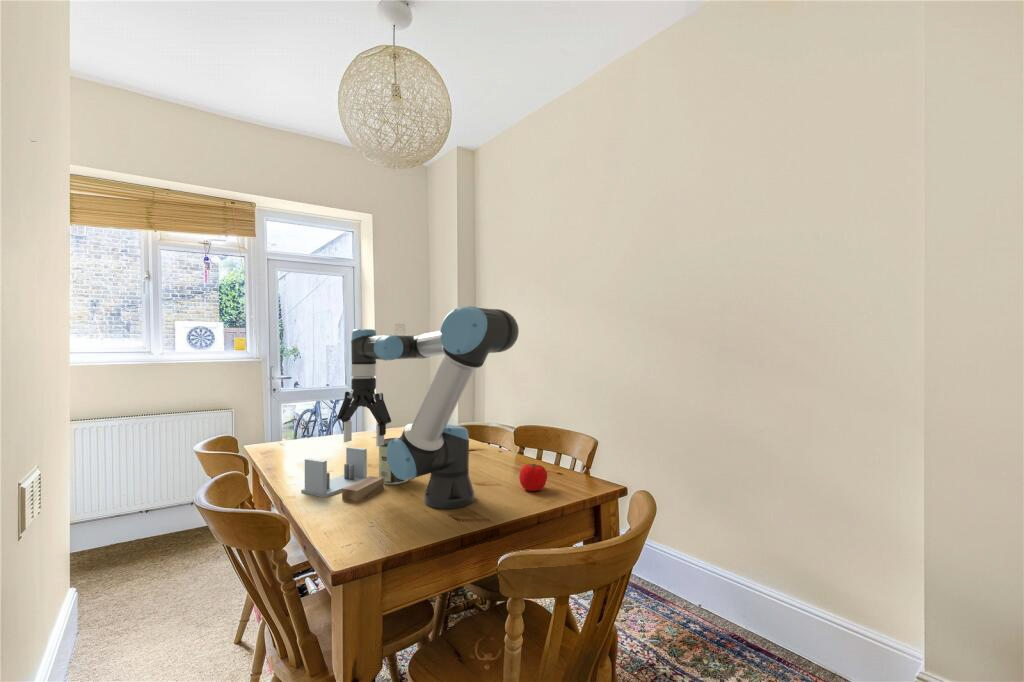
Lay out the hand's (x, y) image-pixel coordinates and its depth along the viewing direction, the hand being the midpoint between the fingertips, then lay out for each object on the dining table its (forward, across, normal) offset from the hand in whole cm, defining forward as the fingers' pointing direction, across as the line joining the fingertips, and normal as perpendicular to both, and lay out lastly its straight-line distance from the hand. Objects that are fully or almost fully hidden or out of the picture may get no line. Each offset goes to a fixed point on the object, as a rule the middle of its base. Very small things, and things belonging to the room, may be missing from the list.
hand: (363, 443), depth 148 cm
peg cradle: (+16, +14, -2) cm, 21 cm away
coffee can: (+16, +1, -16) cm, 23 cm away
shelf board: (+17, 0, 0) cm, 17 cm away
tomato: (+16, -47, -28) cm, 57 cm away
